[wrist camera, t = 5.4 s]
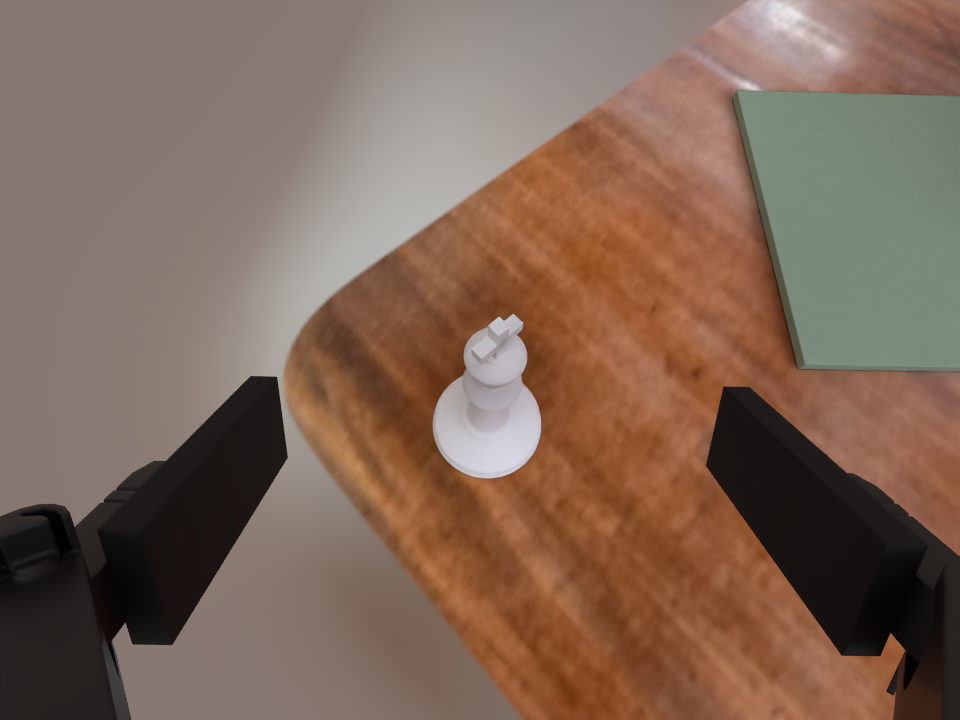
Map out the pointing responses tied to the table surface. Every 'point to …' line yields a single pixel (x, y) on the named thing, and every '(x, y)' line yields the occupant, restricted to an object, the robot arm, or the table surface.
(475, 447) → the chess piece
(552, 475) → the table surface
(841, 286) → the mat
